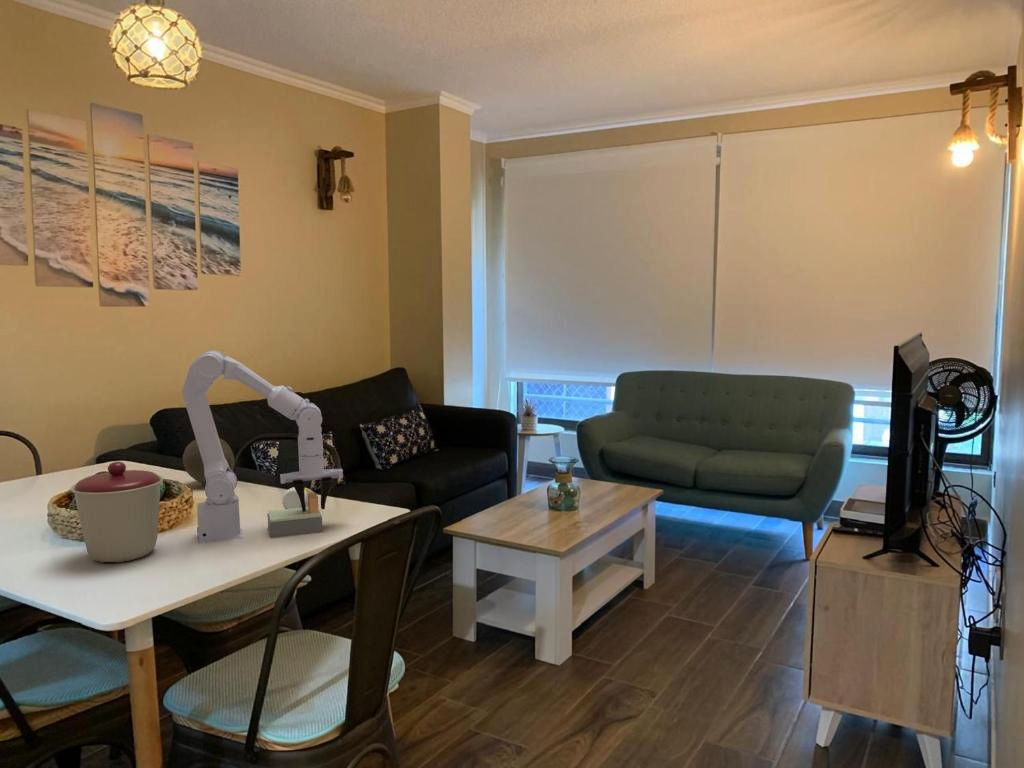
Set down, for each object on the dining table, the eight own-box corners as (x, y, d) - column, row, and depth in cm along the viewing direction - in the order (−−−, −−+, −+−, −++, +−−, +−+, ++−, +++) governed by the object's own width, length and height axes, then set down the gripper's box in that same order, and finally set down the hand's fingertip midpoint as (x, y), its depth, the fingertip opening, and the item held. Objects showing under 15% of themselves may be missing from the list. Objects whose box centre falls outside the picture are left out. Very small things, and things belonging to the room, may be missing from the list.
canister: (83, 548, 175) (76, 457, 172) (170, 538, 181) (164, 451, 179) (69, 574, 158) (61, 474, 156) (165, 563, 164) (158, 466, 162)
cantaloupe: (225, 477, 243) (222, 431, 241) (242, 485, 232) (239, 436, 231) (179, 485, 234) (175, 436, 232) (193, 493, 223) (190, 443, 222)
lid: (270, 522, 179) (269, 504, 178) (268, 513, 187) (267, 495, 186) (320, 516, 183) (319, 498, 182) (316, 508, 191) (315, 490, 190)
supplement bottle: (318, 510, 202) (307, 512, 189) (292, 514, 201) (280, 516, 188) (315, 485, 203) (304, 485, 190) (289, 489, 202) (277, 489, 189)
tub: (270, 540, 179) (269, 523, 178) (268, 529, 187) (267, 513, 187) (322, 533, 183) (322, 517, 183) (318, 523, 191) (317, 508, 191)
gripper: (339, 448, 191) (341, 502, 192) (278, 453, 186) (281, 508, 187) (343, 454, 184) (345, 509, 186) (280, 459, 179) (283, 515, 181)
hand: (313, 509), depth 186 cm, fingers open, 4 cm apart
